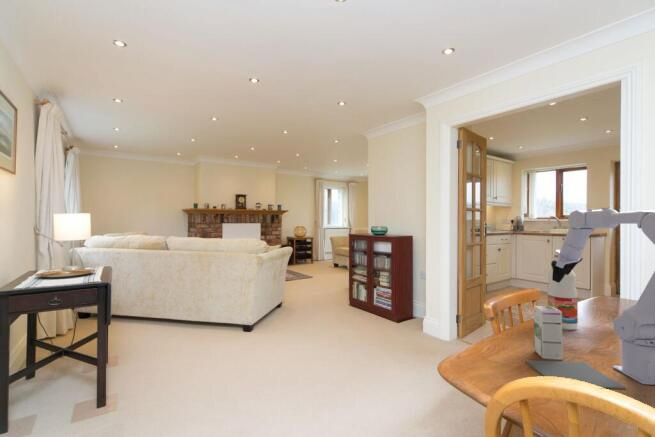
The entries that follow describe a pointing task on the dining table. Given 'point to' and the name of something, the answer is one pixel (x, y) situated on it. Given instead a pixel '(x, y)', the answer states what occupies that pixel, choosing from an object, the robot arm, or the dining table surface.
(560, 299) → the fruit juice
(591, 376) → the slate mat
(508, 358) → the dining table surface
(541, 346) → the syrup box
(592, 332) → the dining table surface
